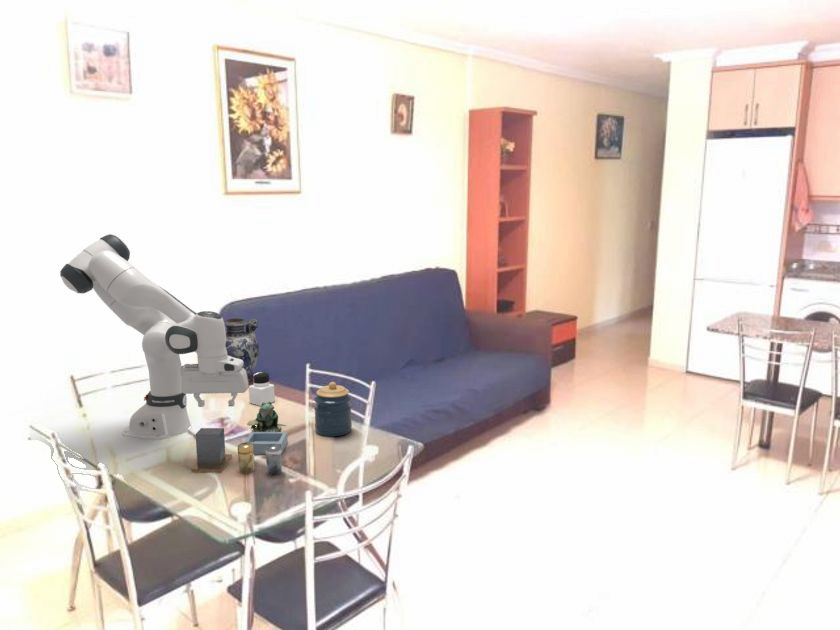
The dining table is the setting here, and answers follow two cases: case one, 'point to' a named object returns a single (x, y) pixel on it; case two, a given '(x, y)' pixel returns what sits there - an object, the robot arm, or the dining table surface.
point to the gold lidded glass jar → (246, 457)
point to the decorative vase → (242, 342)
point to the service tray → (266, 440)
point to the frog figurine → (266, 420)
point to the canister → (333, 410)
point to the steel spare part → (273, 459)
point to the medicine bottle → (261, 389)
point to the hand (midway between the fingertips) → (216, 406)
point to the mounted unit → (211, 450)
